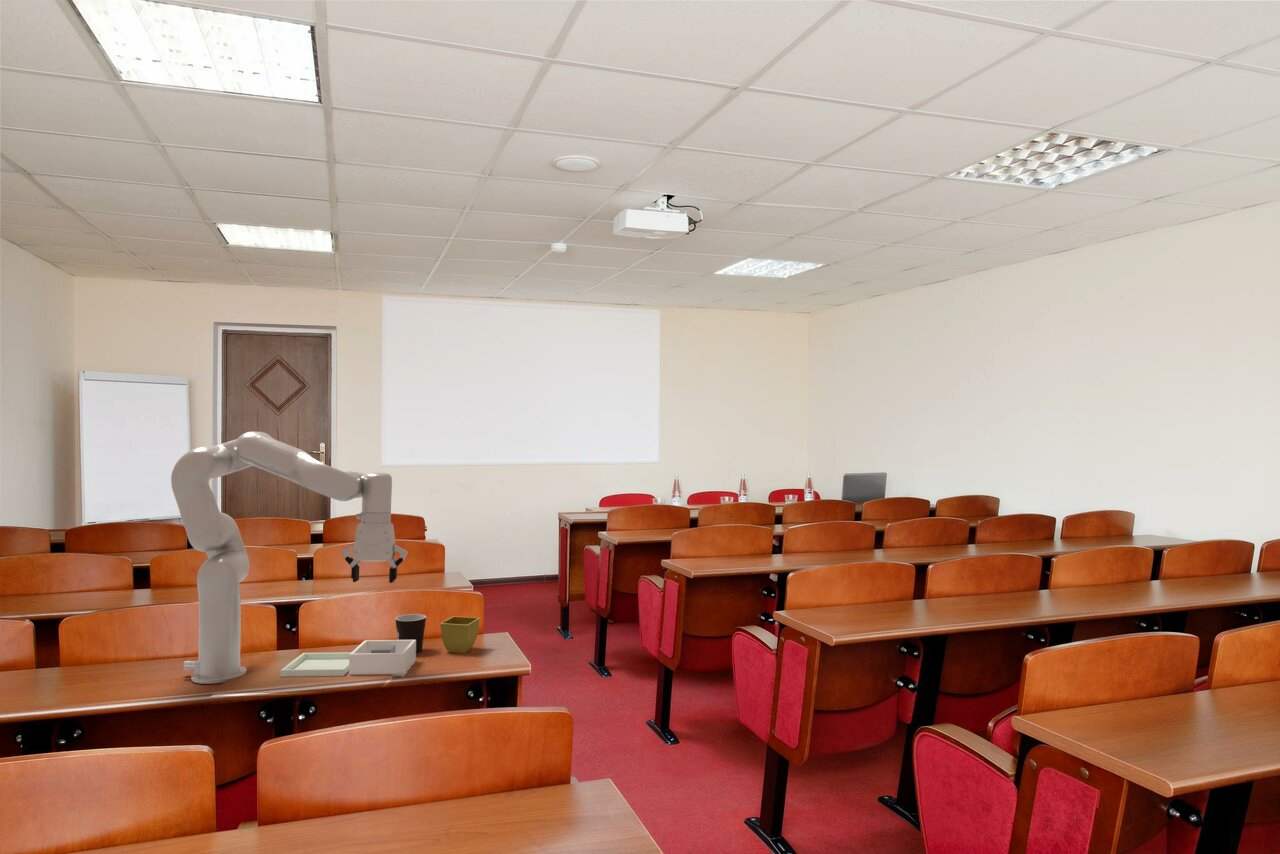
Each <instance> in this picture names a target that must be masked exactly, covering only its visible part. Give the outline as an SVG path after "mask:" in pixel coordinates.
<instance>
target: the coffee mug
mask: <svg viewBox="0 0 1280 854" xmlns="http://www.w3.org/2000/svg"><path fill="white" fill-rule="evenodd" d="M426 621H427V616H426V615H425V614H419V613H409V614H402V615H397V616H396V617H395V627H396V637H397V638H396V639H397V640H416V655H418V653H419V654H420V653H422V652H423V645H424V638H425V628H426Z"/></svg>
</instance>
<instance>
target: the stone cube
mask: <svg viewBox="0 0 1280 854" xmlns="http://www.w3.org/2000/svg"><path fill="white" fill-rule="evenodd" d="M395 650H396V645H377V646H375V647H374V648H373V649H372V650H371V653H395Z"/></svg>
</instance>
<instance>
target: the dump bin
mask: <svg viewBox="0 0 1280 854" xmlns="http://www.w3.org/2000/svg"><path fill="white" fill-rule="evenodd" d="M377 645H396V650H395V653H371V650H372V649H373V648H374V647H375V646H377ZM416 662H417V654H416V640H398V639H365V640H363V641H362V642H361V643H360V644H359V645H358V646H356V648H355V649H353V650H352V651H351V653H350V654H349V671H348V675H349V676H351V675H352V676H355V675H358V676H359V675H363V676H364V675H365V676H366V675H390V676H404V675H405V674H406V675H407V673H408V672H409V671H410V670H409V669H411V668H412V667H413V666H414V664H415V663H416ZM412 665H413V666H412ZM411 666H412V667H411ZM408 670H409V671H408ZM407 671H408V672H407ZM406 675H405V676H406ZM405 676H404V677H405Z"/></svg>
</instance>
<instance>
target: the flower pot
mask: <svg viewBox="0 0 1280 854" xmlns="http://www.w3.org/2000/svg"><path fill="white" fill-rule="evenodd" d="M479 626H480V617H473V616H472V617H471V616H457V615H455V616H454V615H453V616H451V617H449V618H448V619H446V620H444V621H442V622H440V632H441V640H442V643H443V645H444V647H445V649H446V651H448V653H459V654H466V653H467V652H468V651H470V650H471V649H472V648H473V646H474V644H475V642H476V640H477V637H478V634H479Z"/></svg>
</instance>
